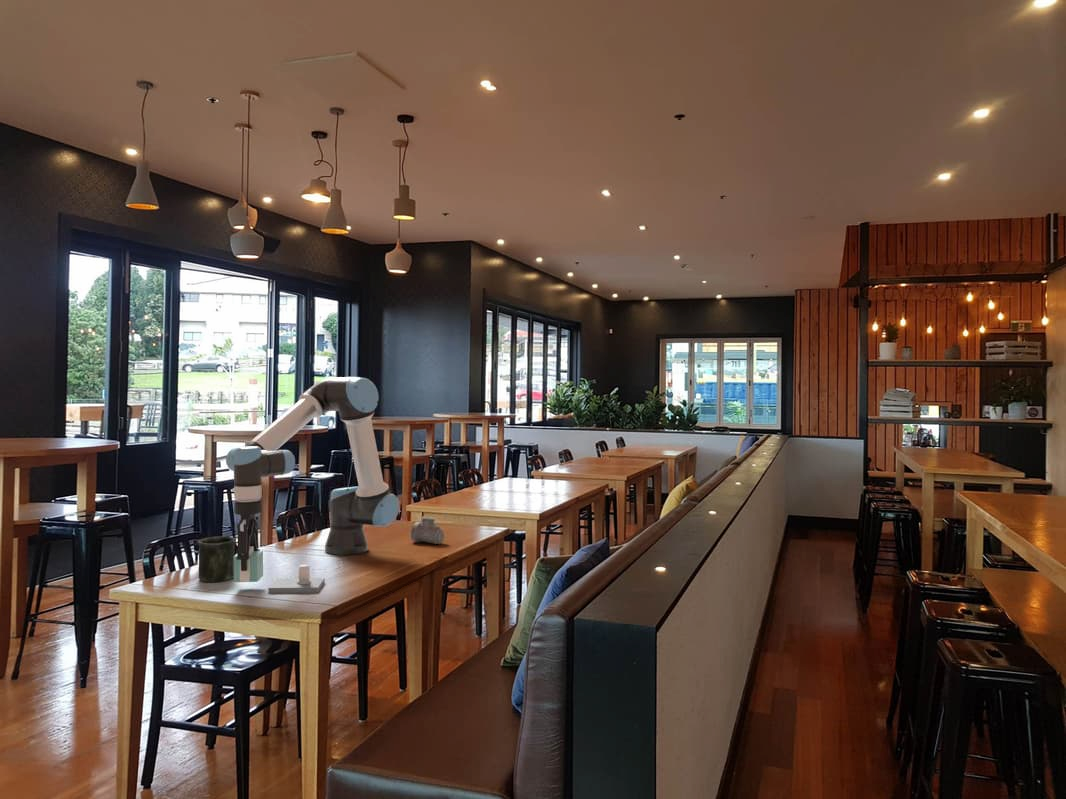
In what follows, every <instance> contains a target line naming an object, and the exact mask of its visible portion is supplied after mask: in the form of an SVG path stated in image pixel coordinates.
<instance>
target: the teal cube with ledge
mask: <svg viewBox="0 0 1066 799" xmlns="http://www.w3.org/2000/svg"><path fill="white" fill-rule="evenodd" d="M242 555H244V554H242ZM236 557H237V554H236V555H235V556H234V577H233V583H241V582H240V560H237V559H236ZM249 559H250V582H249V583H257V582H259V581H260V580H261V579H262V578H263V577H264V550H260V551H254V546H250V550H249Z"/></svg>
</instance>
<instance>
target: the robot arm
mask: <svg viewBox="0 0 1066 799" xmlns="http://www.w3.org/2000/svg"><path fill="white" fill-rule="evenodd" d="M379 399H380V398H379V391H378V388H377V387H376V385H375V384H374V382H373V381H371V380H370V379H369V378H366V377H360V376H344V377H342V376H339V377H338V376H331V377H327V378H325V379H322V380H320V381H318V382H317V383H315V384H313V385H312V386H311V387H310V388H307V390H305V391H304V392H303V393H301V394H300V395H299V397H298V401H297V402H296V403H294V404H293V405H292V406H290V408H288V409H287V410H286V411H285V412H284V413H283V414H281V415H279V417H278V418H276V419H275V420H273V422H272V423H271V424H269V425H268V426H267V427H266V428H264V429H263V430H262V431H261V432H259V433H258V434H257V435H256V436H255V437H254V438H251V440H250V441H249V442H248V443H246V444H245V445H243V446H238V447H235V448H231V449H230V450H229V451H228V452H227V454H226V457H225V463H226V466H227V468H228V469H229V470H230V471H232V472H233V488H232V489H231V490H232V492H233V493H234V494H233V498H234V500H235V501H233V509H234V514H235V515H240V516H241V517H240V520H239V521H238V523H237V525H236V527H237V529H236V530H237V546H238V547H237V557H236V559H237V560H240V582H239V583H251V582H250V559H249V550H250V546H254V551H261V550H260V545H259V542H260V541H259V516H258V515H257V514H260V513H261V512H262V510H263V508H262V507H263V506H262V504H263V503H262V500H261V498H262V494H263V492H262V491H263V490H262V482H263V480H262V478H266V477H268V478H269V477H274V476H284V475H287V474H290V473H292V472H293V470H294V469H295V466H296V458H295V455H294V454H293V452H292V451H290V450H288V449H280V448H281V447H282V446H283V445H284V444H285V443H287V442H288V440H290V439H291V438H293V437H294V435H296V434H297V433H298V432H299V431H300V430H301V429H303V428H304V427H305V426H306V425H307V424H308V423H310V422H311V421H312V420H313V419H314V418H320V417H321V416H322V415H323V414H325V413H328V412H332V411H334V412H335V411H336V412H338V415H339V419H340V421H342V422H343V423H345V425H346V430H347V435H348V441H349V446H350V450H351V454H352V455H351V456H352V460H353V464H354V470H355V474H356V479H357V480H356V481H357V484H358V486H350V487H349V486H347V487H340V488H334V489H333V490H332V491H331V492H330V499H329V502H330V503H329V504H330V505H329V506H330V507H329V511H330V512H329V514H330V515H329V517H330V518H329V519H330V521H329V522H330V526H329V528H330V529H329V532H328V536H327V538H326V541H325V545H324V553H326V554H329V555H338V556H339V555H341V556H347V555H348V556H349V555H359V554H363V553H365V552H367V551H368V550H369V549H368V548H369V544H368V540H367V537H366V535H365V531H364V525H367V526H371V527H372V526H373V527H377V528H379V527H384V528H385V527H388V526H390V525H392V523H394V521H395V520H396V519H397V516H398V514H399V510H400V500H399V498H398V496H397V495H395V494H394V493H391V491H390V487H389V483H386V482H385V481H384V478H383V472H382V467H381V463H380V462H381V461H380V458H379V453H378V448H377V443H376V442H377V441H376V437H375V432H374V428H373V423H372V422H373V421H372V418H373V416H374V414H375V409H376V408H377V406H378V402H379ZM242 554H244V555H242Z"/></svg>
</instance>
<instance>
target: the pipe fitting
mask: <svg viewBox="0 0 1066 799" xmlns="http://www.w3.org/2000/svg"><path fill="white" fill-rule="evenodd" d="M435 520H436V518H435V517H431V516H422V517H421V521H416V522H415V523H413V525H412V527H411V530H410V539H411V541H412V542H415V543H421V542H426V543H429V544H432V545H436V544H440V545H441V544H443V541H445V540H444V539H445V531H444V530H443V529H441V526H440V525H439V524H436V523H435Z"/></svg>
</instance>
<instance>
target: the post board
mask: <svg viewBox="0 0 1066 799" xmlns="http://www.w3.org/2000/svg"><path fill="white" fill-rule="evenodd" d="M310 568H311V567H310V565H309V564H301V565H299V566H298V577H297V578H295V577H294V578H290V577H289V578H287V577H286V578H282V577H281V578H276V579H275V580H274V581H273V583H271V585H270V586H269V587H268V588H267V590H268V591H267V593H268V594H303V593H304V594H314V593H315V594H316V593H317V594H318V593H319V592H320V590H321V589H322V587H324V585H325V582H326V578H325V577H316V578H315V577H310Z"/></svg>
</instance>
